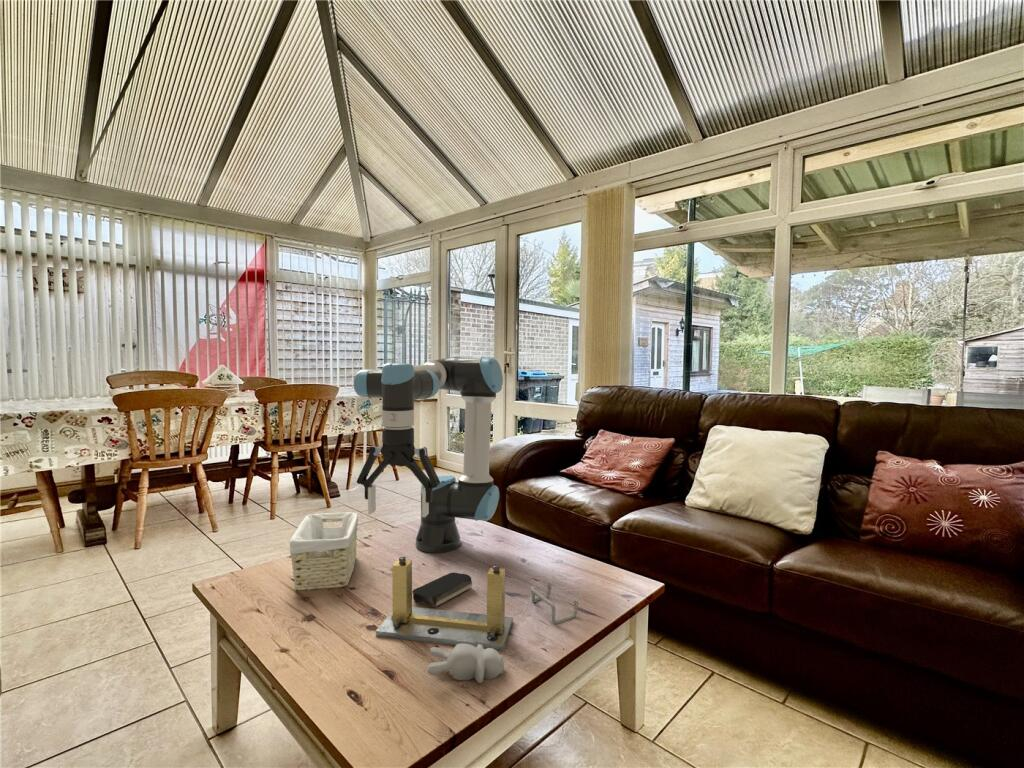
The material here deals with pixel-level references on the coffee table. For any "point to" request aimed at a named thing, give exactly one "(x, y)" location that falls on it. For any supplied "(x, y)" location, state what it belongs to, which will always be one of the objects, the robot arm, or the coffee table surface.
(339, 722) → the coffee table surface
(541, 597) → the bracket
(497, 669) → the bunny figurine
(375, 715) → the coffee table surface
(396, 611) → the sliding leg
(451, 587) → the black sponge
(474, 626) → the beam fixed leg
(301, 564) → the storage basket
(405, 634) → the steel plate
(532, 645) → the coffee table surface
